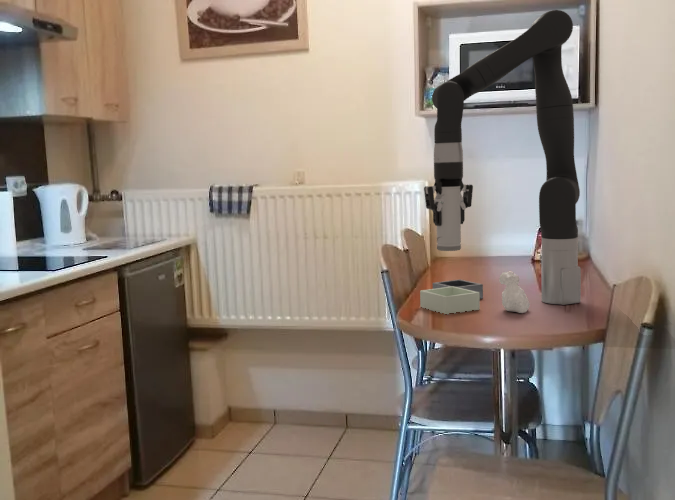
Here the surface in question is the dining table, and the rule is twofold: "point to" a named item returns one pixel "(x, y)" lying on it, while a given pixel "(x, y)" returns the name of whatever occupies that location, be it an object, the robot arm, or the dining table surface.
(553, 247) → the robot arm
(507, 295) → the bust
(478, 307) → the tray
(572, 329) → the dining table surface
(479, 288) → the sleeve
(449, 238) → the travel mug
